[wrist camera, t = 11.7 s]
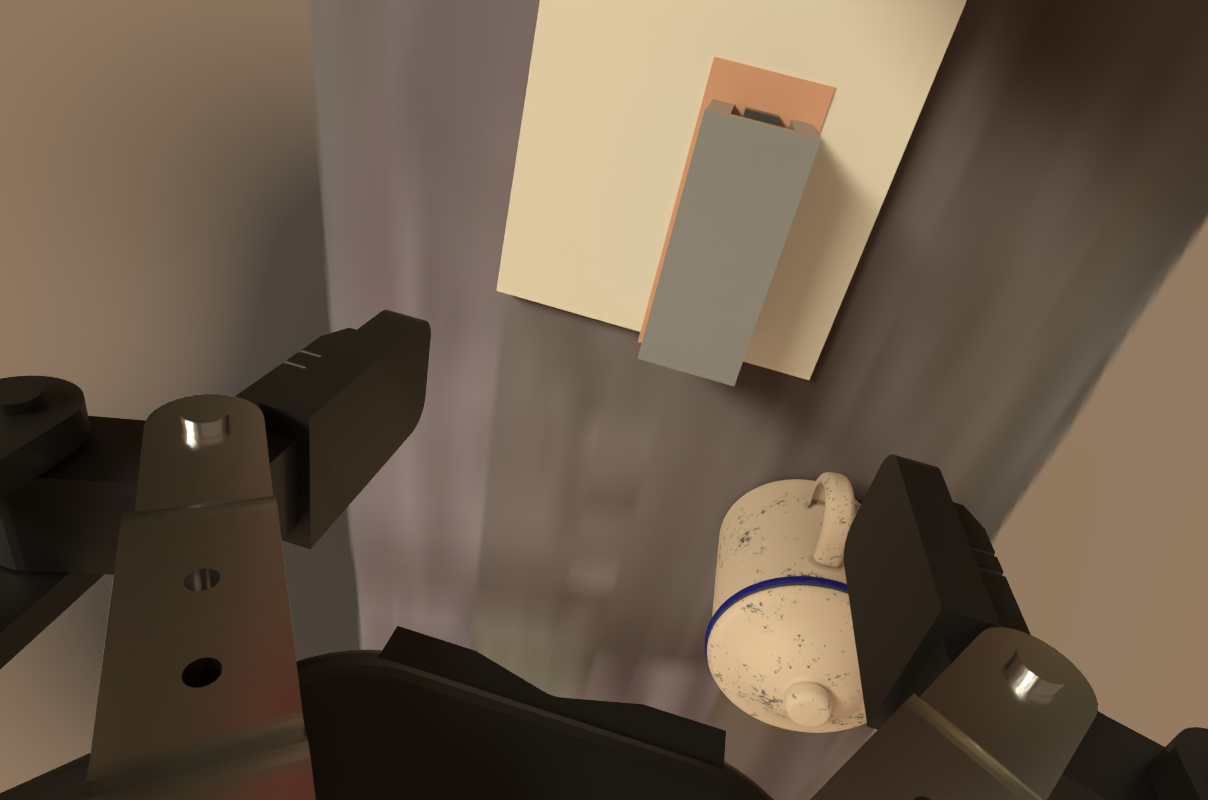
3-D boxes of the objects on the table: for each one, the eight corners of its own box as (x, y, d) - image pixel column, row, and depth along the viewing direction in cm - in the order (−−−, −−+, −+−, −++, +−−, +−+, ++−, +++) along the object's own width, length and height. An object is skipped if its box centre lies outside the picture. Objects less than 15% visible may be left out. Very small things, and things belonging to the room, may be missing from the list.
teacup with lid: (856, 616, 41) (887, 806, 31) (702, 582, 42) (683, 755, 32) (923, 444, 35) (987, 609, 25) (742, 410, 36) (735, 554, 26)
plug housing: (713, 98, 29) (704, 109, 25) (812, 124, 29) (821, 140, 24) (653, 317, 34) (637, 358, 30) (737, 341, 34) (734, 386, 29)
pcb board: (579, -213, 26) (572, -222, 25) (1007, -114, 25) (1017, -120, 24) (501, 293, 36) (494, 300, 35) (804, 380, 35) (805, 390, 34)
